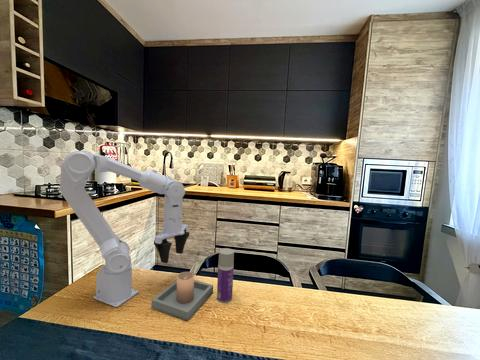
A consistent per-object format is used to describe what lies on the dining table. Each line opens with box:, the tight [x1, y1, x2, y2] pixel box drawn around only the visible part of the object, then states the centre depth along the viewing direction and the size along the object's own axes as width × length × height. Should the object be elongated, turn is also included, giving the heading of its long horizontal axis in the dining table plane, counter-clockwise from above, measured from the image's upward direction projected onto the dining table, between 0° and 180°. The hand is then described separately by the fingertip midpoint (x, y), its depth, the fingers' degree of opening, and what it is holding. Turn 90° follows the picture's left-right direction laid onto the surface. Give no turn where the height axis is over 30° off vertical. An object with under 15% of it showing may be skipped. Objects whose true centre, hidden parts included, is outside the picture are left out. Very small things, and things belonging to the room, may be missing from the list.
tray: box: [150, 279, 214, 322], centre depth 67 cm, size 12×14×2 cm
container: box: [216, 247, 235, 304], centre depth 68 cm, size 5×5×15 cm
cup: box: [176, 271, 195, 304], centre depth 67 cm, size 5×5×7 cm
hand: (172, 257), depth 74 cm, fingers open, 7 cm apart
